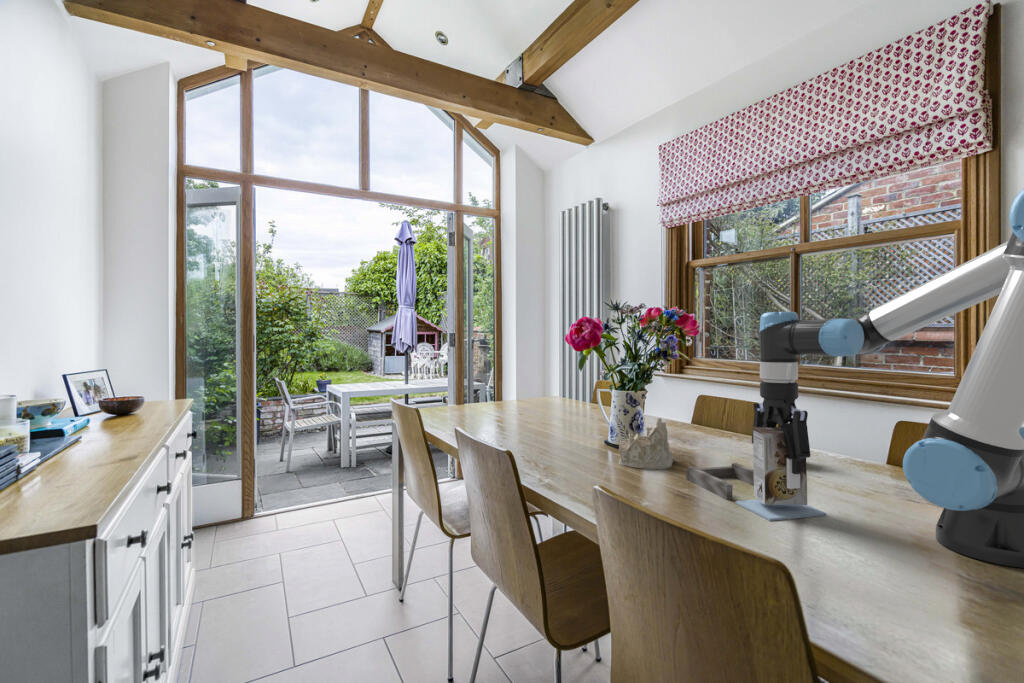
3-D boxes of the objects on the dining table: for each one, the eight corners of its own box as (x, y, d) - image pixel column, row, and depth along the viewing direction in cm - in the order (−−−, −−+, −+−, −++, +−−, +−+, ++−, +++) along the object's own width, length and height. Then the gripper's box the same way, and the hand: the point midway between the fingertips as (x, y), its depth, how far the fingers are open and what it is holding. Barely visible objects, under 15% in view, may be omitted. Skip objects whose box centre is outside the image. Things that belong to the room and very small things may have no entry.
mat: (826, 515, 105) (826, 512, 105) (769, 521, 102) (769, 518, 102) (787, 498, 115) (787, 496, 115) (735, 503, 112) (735, 501, 112)
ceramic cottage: (678, 458, 153) (674, 411, 153) (666, 473, 139) (662, 421, 138) (629, 455, 161) (626, 411, 161) (614, 470, 147) (610, 421, 146)
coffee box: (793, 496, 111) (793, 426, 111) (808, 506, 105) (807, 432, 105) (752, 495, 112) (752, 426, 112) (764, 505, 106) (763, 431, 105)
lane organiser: (781, 494, 118) (781, 480, 118) (726, 499, 115) (726, 485, 115) (734, 474, 135) (734, 462, 135) (686, 478, 132) (686, 465, 132)
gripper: (831, 384, 99) (832, 495, 99) (761, 376, 119) (761, 469, 119) (800, 385, 97) (800, 498, 98) (734, 377, 117) (734, 471, 118)
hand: (779, 482), depth 108 cm, fingers closed on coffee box, 7 cm apart
